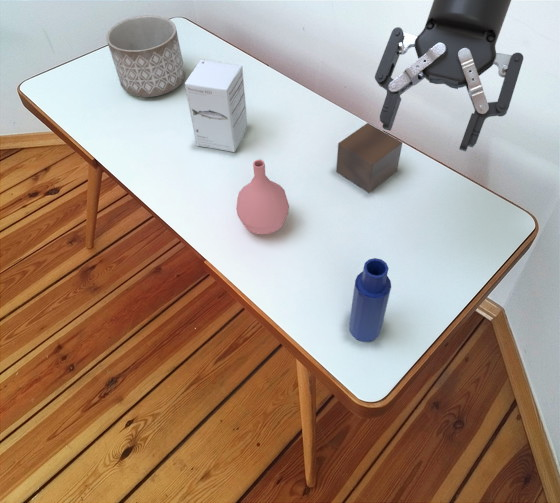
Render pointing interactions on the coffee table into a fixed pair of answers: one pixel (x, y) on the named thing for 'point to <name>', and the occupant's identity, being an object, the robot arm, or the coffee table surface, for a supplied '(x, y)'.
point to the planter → (146, 55)
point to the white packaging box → (217, 104)
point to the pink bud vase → (262, 203)
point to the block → (368, 157)
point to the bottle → (370, 300)
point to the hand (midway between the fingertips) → (423, 139)
